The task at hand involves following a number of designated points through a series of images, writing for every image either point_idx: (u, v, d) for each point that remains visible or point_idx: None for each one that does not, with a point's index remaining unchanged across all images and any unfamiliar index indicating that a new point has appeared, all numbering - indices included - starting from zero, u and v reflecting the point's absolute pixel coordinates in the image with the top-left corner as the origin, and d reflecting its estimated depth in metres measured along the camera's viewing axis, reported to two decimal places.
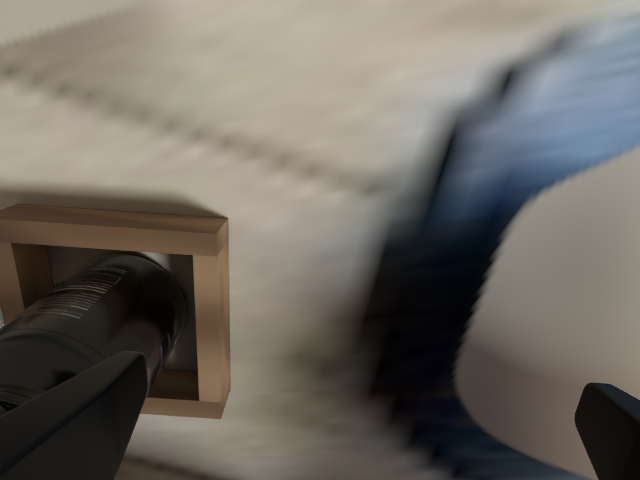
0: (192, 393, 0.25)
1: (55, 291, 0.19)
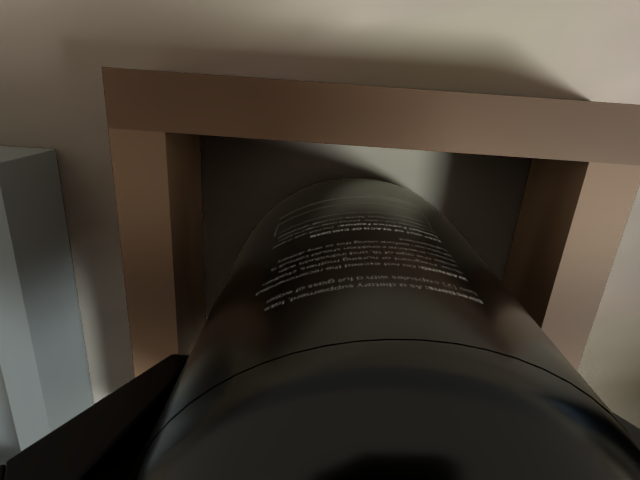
0: None
1: (314, 236, 0.07)
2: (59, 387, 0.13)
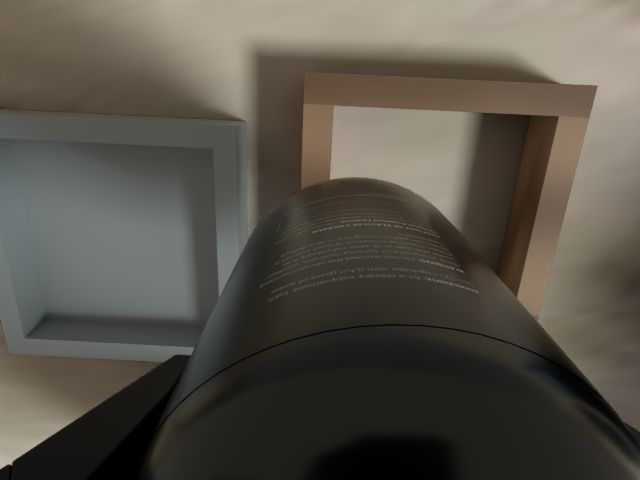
0: None
1: (316, 232, 0.08)
2: None
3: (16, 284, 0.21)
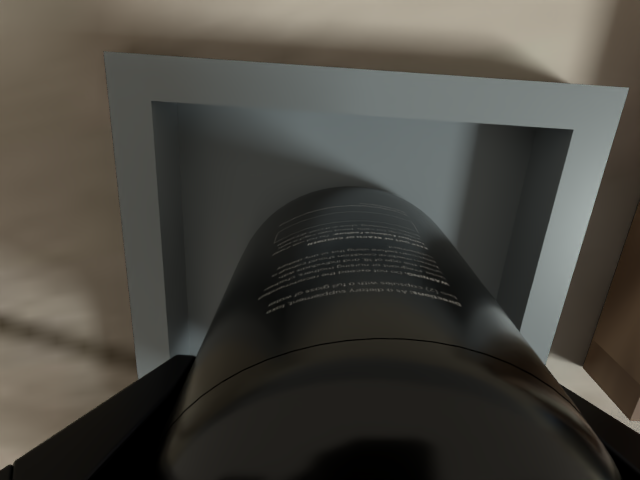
0: None
1: (311, 244, 0.08)
2: None
3: (172, 348, 0.13)
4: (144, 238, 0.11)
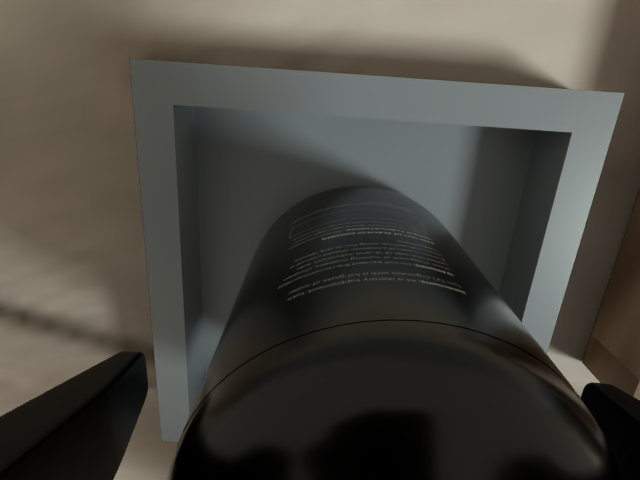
0: None
1: (325, 239, 0.09)
2: None
3: (188, 340, 0.13)
4: (164, 234, 0.12)
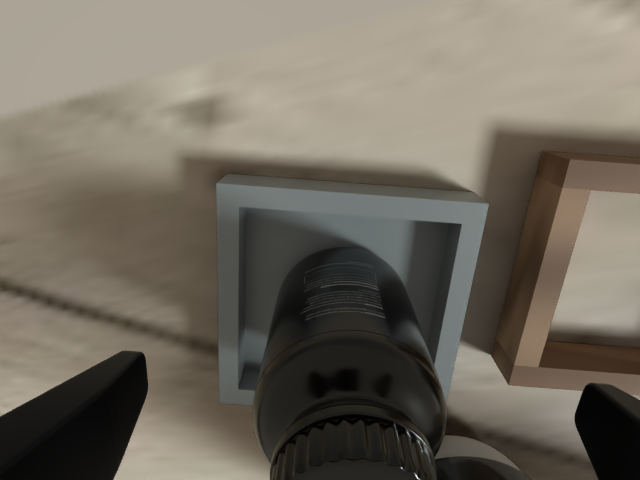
0: None
1: (323, 287, 0.17)
2: None
3: (239, 339, 0.22)
4: (229, 276, 0.20)
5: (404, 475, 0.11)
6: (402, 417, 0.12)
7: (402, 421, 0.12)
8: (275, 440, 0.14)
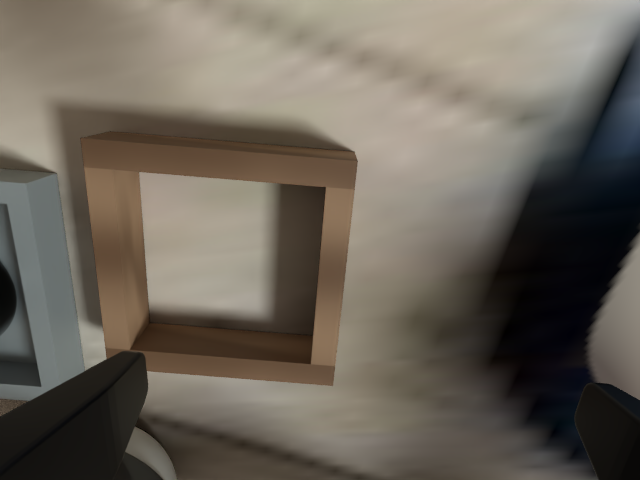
0: (300, 356, 0.21)
1: None
2: (57, 312, 0.21)
3: None
4: None
5: None
6: None
7: None
8: None
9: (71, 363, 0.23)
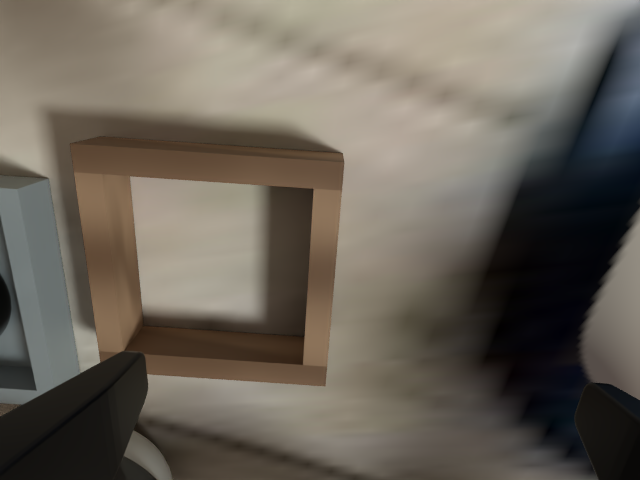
0: (292, 357, 0.22)
1: None
2: (51, 316, 0.22)
3: None
4: None
5: None
6: None
7: None
8: None
9: (66, 367, 0.23)
